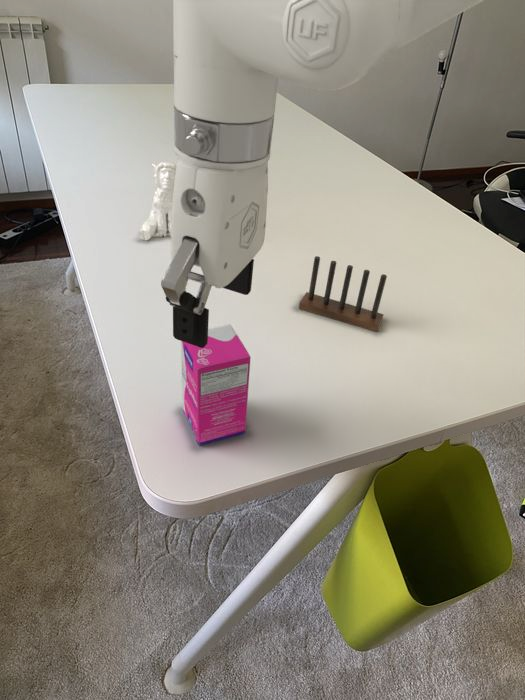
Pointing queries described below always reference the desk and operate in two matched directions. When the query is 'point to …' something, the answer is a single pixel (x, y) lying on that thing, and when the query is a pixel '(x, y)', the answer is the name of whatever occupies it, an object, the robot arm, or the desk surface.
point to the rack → (343, 300)
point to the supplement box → (216, 385)
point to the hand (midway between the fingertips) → (214, 314)
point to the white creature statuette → (161, 202)
